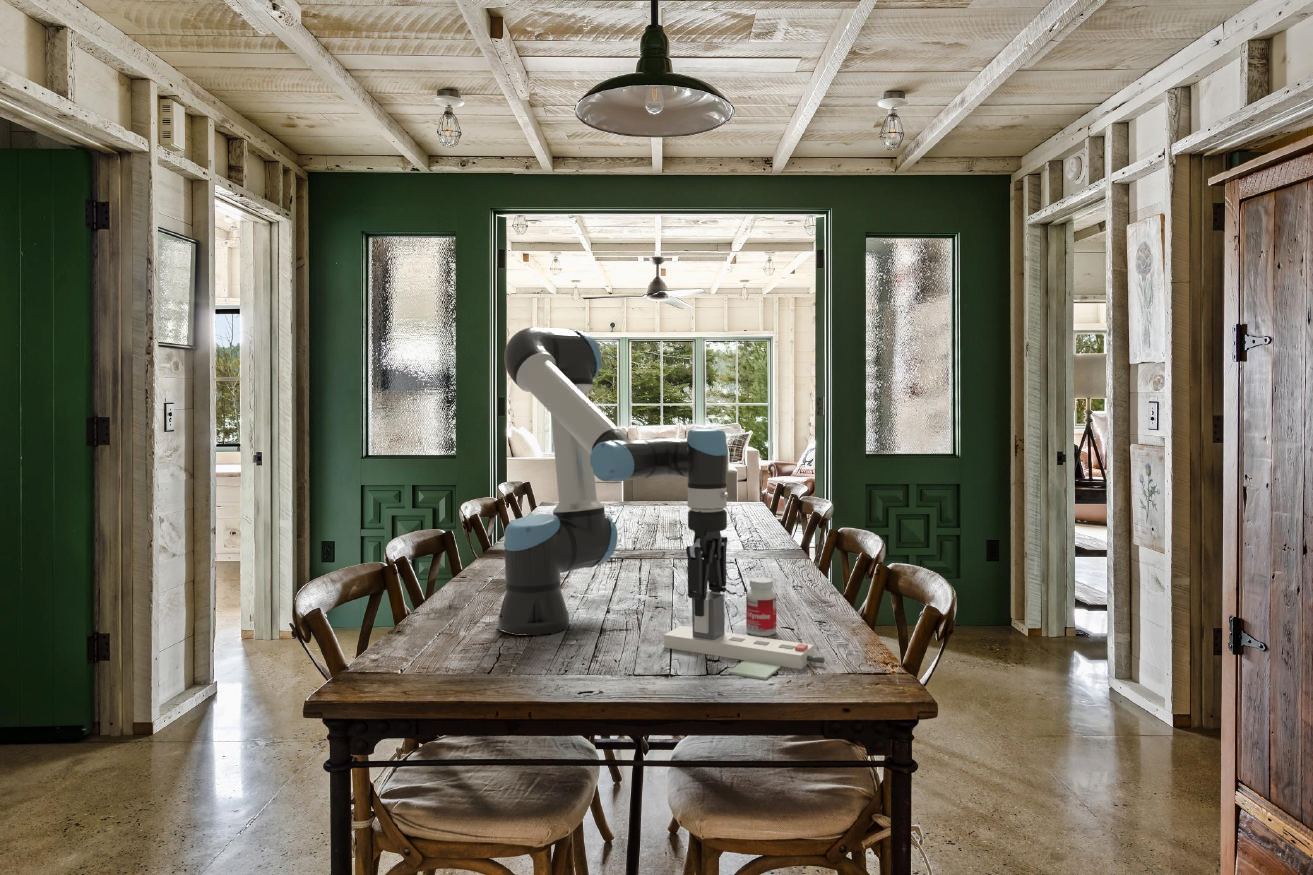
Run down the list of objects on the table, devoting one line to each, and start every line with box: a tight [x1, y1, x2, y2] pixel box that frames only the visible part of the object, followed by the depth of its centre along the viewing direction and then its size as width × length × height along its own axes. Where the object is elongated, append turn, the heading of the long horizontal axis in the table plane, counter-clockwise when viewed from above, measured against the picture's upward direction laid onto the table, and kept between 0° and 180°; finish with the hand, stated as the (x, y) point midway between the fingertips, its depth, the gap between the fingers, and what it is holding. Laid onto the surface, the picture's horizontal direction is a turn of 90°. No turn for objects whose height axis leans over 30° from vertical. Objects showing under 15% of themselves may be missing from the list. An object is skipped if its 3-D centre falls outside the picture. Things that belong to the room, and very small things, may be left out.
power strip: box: [663, 625, 825, 670], centre depth 155 cm, size 31×7×3 cm, turn 60°
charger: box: [691, 593, 726, 640], centre depth 159 cm, size 5×5×10 cm
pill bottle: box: [745, 577, 777, 637], centre depth 169 cm, size 6×6×11 cm
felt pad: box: [728, 660, 782, 681], centre depth 146 cm, size 7×7×1 cm
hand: (707, 628), depth 159 cm, fingers closed on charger, 5 cm apart
